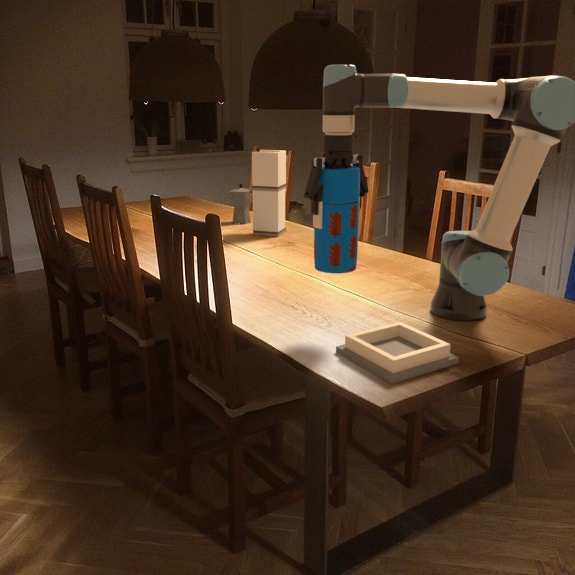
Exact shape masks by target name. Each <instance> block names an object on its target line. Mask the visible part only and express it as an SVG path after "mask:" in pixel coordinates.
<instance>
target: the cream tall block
mask: <svg viewBox="0 0 575 575" xmlns="http://www.w3.org/2000/svg"><path fill="white" fill-rule="evenodd" d="M251 184H252V187H251V189H252V204H253V206H252V235H253V236H259V235H266V236H265V237H273V236H276V237H277V238H279V237H281V235H283V234H285V233H286V232H287V227H286V191H287V150H284V149H283V150H280V149H279V150H277V149H260V150H259V151H252V152H251ZM276 237H275V238H276Z"/></svg>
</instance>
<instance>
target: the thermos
mask: <svg viewBox="0 0 575 575" xmlns="http://www.w3.org/2000/svg"><path fill="white" fill-rule="evenodd" d="M324 166H325V165H323V166H322V171H321V174H320V178H319V181H318V184H319V185H323V195H322V197H321V199H320V201H322V202H323V212H322V229H318V228H315V227H313V228H314V231H313V233H314V235H313V240H314V241H313V257H314V258H313V260H314V261H313V262H314V269H315V270H316V271H318V272H322V273H324V274H325V273H326V274H337V275H338V274H339V275H340V274H348V273H351V272H354V271H356V270H357V264H358V262H357V261H358V253H359V252H358V250H359V249H358V248H359V244H358V243H359V223H360V209H359V191H360V170H359V167H355V166H353V165H351V167H352V168H338V169H327V168H324ZM358 222H359V223H358Z"/></svg>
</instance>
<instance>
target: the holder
mask: <svg viewBox="0 0 575 575" xmlns="http://www.w3.org/2000/svg"><path fill="white" fill-rule="evenodd" d="M344 338H345V339H344V342H345V343H344V344H340V345H336V346H335V353H337V354H339V356H342V357H343V358H345V359H347V360H349V361H351V362H352V363H354V364H356V365H358V366H359V367H362V368H363V369H365V370H366V371H368V372H370V373H372V374H373V375H375V376H377V377H379V378H381V380H382V379H383V380H385V381H386V382H388V383H389V384H391V385H393V384H396V383H400V382H403V381H406V380H409V379H412V378H416V377H420V376H423V375H425V374H429V373H431V372H436V371H439V370H442V369H445V368H448V367H451V366H454V365H457V364H459V363H460V357H459V356H458V355H455V354H453V353H451V347H452V346H451V343H450V342H447V341H444V340H442V339H439V338H438V337H435V336H432V335H431V334H429V333H426V332H424V331H422V330H420V329H417V328H415V327H413V326H410V325H408V324H406V323H403V322H401V321H398V322H394V323H390V324H386V325H381V326H377V327H374V328H369V329H365V330H363V331H361V330H360V331H357V332H354V333H350V334H346V335H345V336H344Z"/></svg>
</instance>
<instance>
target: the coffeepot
mask: <svg viewBox="0 0 575 575" xmlns="http://www.w3.org/2000/svg"><path fill="white" fill-rule="evenodd" d="M251 193H252V188H244V187H243V184H242V183H239V187H238V188H235V189H231V190H228V191H227V194H228V195H229V196H230V198H231V200H232V202H233V205H234V206H233V216H232V222H233V223H232V224H234V223H238V224H237V225H246V224H245V223H249V224H251V223H252V219H251V214H250V208H249V204H250V197H251ZM250 206H251V207H253V203H251V204H250ZM250 222H251V223H250ZM239 223H241V224H239Z"/></svg>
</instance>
